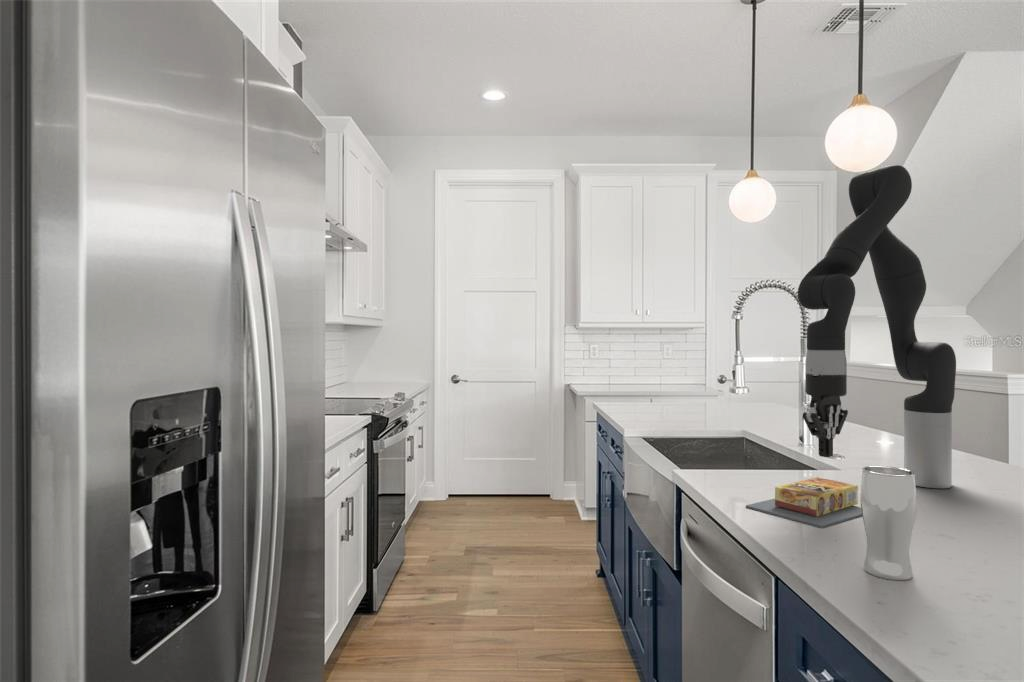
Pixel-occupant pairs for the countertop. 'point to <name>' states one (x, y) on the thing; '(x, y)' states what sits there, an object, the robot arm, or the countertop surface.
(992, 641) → the countertop surface
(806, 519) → the slate mat
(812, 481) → the candy box
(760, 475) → the countertop surface
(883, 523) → the beer glass
